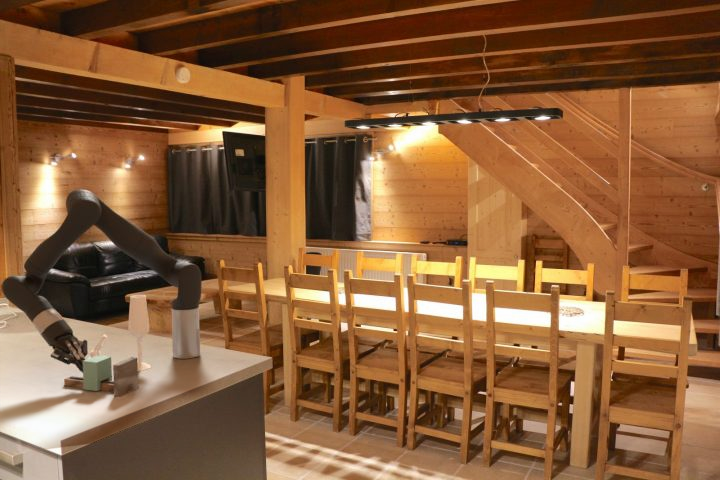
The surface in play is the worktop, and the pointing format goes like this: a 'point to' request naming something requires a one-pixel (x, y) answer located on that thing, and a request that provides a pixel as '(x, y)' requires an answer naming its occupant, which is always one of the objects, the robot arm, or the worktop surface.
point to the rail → (123, 378)
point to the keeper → (96, 372)
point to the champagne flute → (139, 324)
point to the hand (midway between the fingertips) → (87, 370)
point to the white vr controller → (98, 347)
